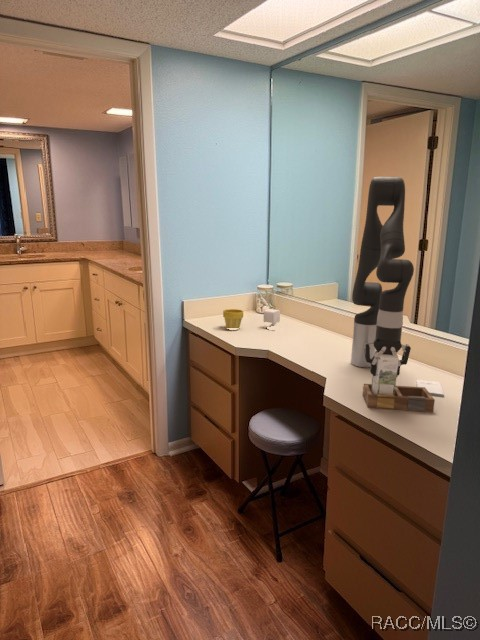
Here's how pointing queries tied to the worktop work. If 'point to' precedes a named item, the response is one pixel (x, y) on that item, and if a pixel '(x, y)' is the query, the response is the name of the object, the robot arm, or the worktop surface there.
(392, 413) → the worktop surface
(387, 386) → the syrup box
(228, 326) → the plant pot
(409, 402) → the socket block
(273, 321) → the security camera
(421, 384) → the external hard drive
